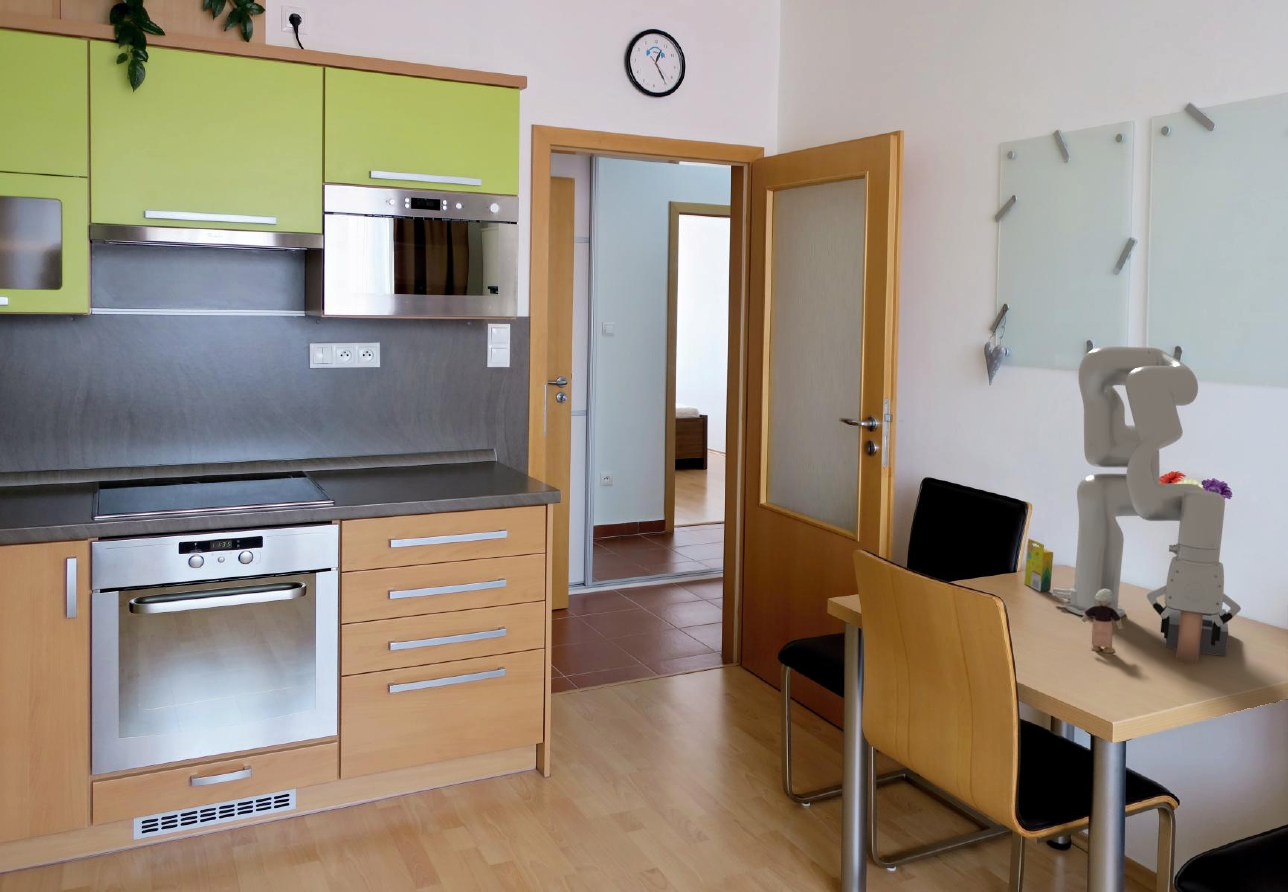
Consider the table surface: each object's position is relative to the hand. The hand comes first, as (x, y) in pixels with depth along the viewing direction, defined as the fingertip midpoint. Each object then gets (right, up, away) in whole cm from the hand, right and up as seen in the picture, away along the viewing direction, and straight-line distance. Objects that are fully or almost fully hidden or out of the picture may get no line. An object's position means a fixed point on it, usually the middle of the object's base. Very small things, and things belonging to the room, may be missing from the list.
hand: (1189, 639), depth 216 cm
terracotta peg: (0, -4, +1) cm, 4 cm away
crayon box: (-12, +4, +51) cm, 52 cm away
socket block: (+8, -2, +13) cm, 16 cm away
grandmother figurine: (-16, -3, +5) cm, 17 cm away
